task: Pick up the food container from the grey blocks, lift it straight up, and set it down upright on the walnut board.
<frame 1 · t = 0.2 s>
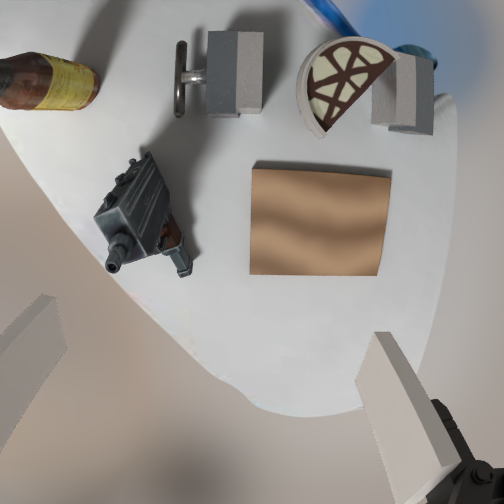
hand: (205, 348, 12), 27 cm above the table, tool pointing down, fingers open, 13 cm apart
sauce bottle: (80, 89, 32), on the table
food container: (318, 85, 32), on the table
grey blocks: (318, 85, 32), on the table
walnut board: (319, 223, 38), on the table
gun: (166, 212, 38), on the table
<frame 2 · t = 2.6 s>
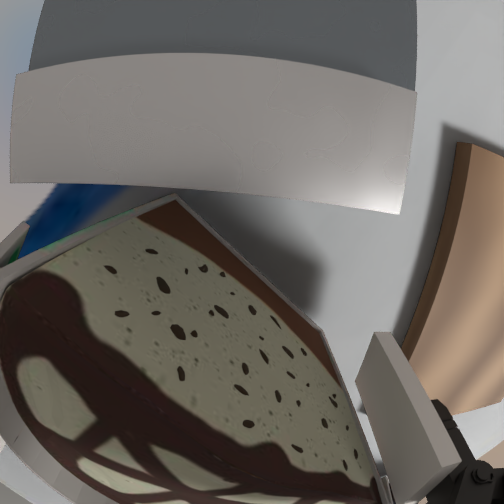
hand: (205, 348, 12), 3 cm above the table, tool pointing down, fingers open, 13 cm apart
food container: (208, 309, 14), on the table, touching gripper
grey blocks: (208, 311, 14), on the table
walnut board: (493, 307, 15), on the table
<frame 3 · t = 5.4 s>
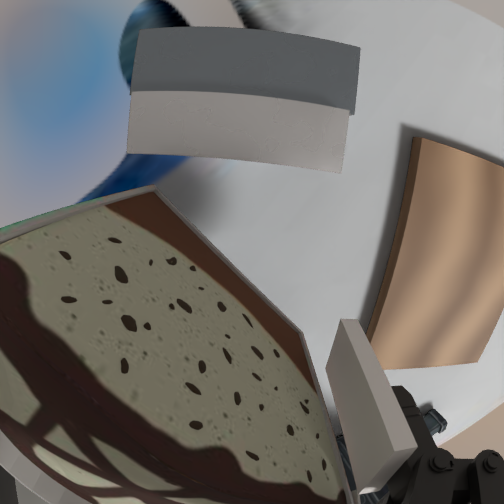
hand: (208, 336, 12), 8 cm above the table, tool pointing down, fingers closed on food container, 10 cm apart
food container: (185, 304, 14), point 6 cm above the table, touching gripper
grey blocks: (230, 260, 20), on the table
walnut board: (457, 269, 20), on the table
gun: (371, 431, 27), on the table
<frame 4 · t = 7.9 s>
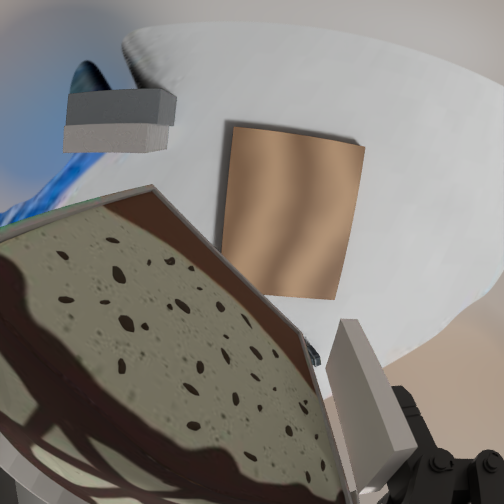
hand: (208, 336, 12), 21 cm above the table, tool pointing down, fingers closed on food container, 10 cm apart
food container: (184, 304, 14), point 19 cm above the table, touching gripper
grey blocks: (128, 211, 31), on the table
walnut board: (288, 217, 32), on the table
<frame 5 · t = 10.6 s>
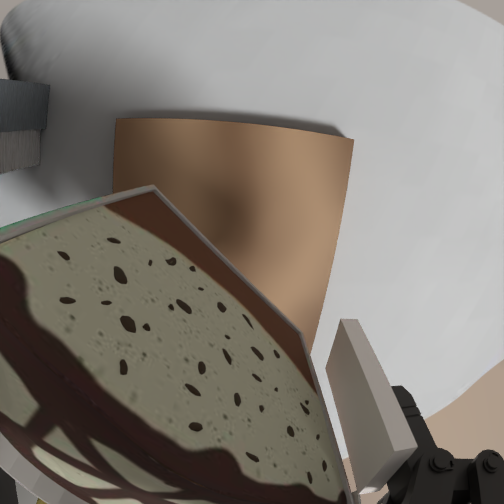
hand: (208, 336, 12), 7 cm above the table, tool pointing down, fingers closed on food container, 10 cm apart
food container: (185, 305, 14), point 6 cm above the table, touching gripper
grey blocks: (10, 252, 19), on the table
walnut board: (220, 265, 19), on the table
when the fingers open (4 cm above the table, at t = 12.4 s): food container stays where it is, resting on walnut board.
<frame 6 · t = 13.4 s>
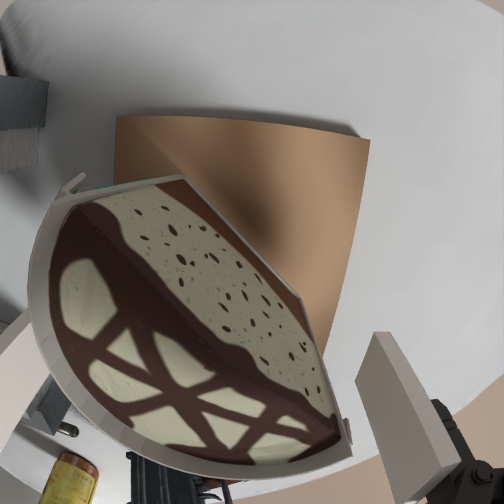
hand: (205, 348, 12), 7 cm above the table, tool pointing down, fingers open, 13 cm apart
sauce bottle: (81, 462, 29), on the table
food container: (205, 273, 17), point 1 cm above the table, touching walnut board
grey blocks: (8, 255, 18), on the table
walnut board: (228, 271, 18), on the table
gun: (205, 446, 25), on the table
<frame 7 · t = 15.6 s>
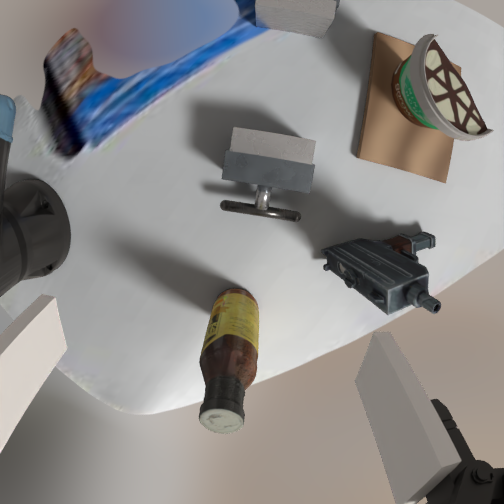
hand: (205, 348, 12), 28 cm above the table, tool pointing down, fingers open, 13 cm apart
sauce bottle: (236, 306, 43), on the table
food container: (408, 102, 31), point 1 cm above the table, touching walnut board
grey blocks: (281, 80, 32), on the table
walnut board: (412, 107, 32), on the table
gun: (376, 244, 39), on the table
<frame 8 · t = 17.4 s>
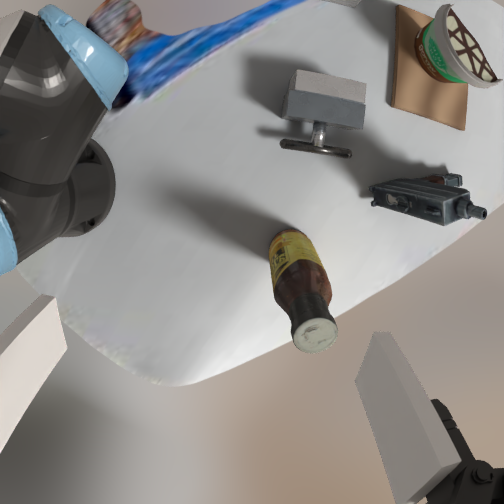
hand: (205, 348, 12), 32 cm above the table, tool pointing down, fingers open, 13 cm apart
sauce bottle: (289, 249, 44), on the table
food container: (428, 62, 33), point 1 cm above the table, touching walnut board
grey blocks: (324, 40, 33), on the table
walnut board: (432, 67, 34), on the table
gun: (412, 184, 41), on the table
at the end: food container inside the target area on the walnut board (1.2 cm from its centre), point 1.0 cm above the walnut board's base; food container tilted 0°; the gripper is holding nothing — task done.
